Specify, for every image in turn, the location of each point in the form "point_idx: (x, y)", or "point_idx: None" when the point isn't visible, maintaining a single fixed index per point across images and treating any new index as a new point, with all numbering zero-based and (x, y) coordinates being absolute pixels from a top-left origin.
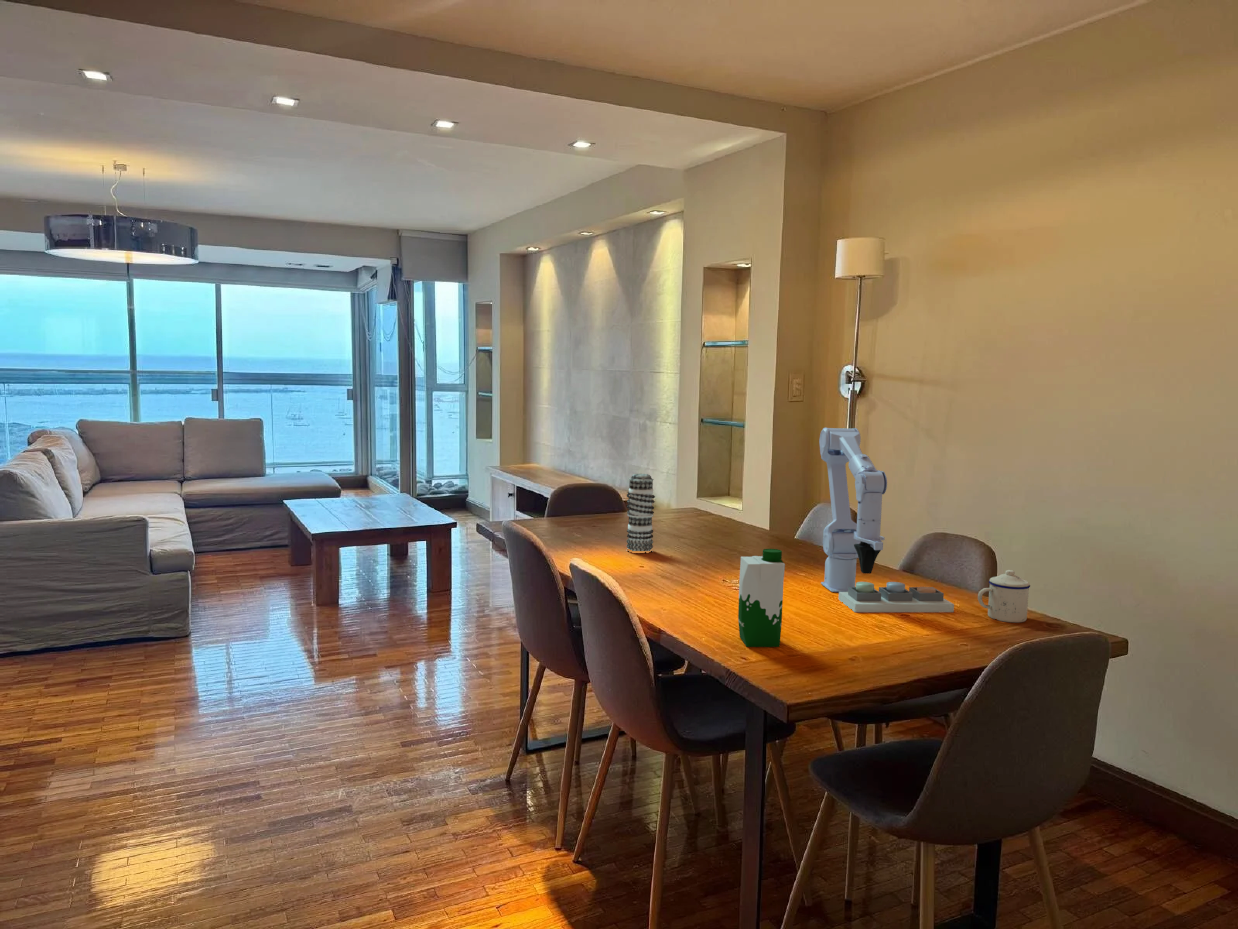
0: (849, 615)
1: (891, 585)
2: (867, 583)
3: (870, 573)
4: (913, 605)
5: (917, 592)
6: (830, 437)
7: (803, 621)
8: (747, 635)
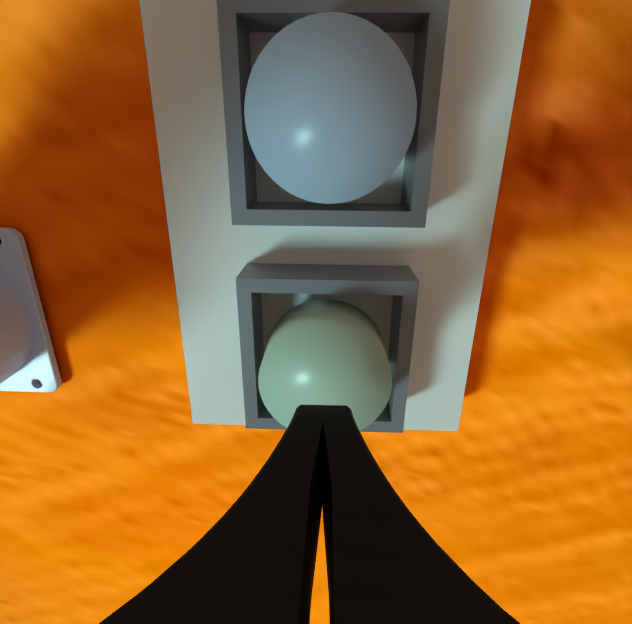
0: (490, 442)
1: (379, 185)
2: (313, 363)
3: (349, 411)
4: (520, 50)
5: None
6: None
7: (535, 609)
8: None
